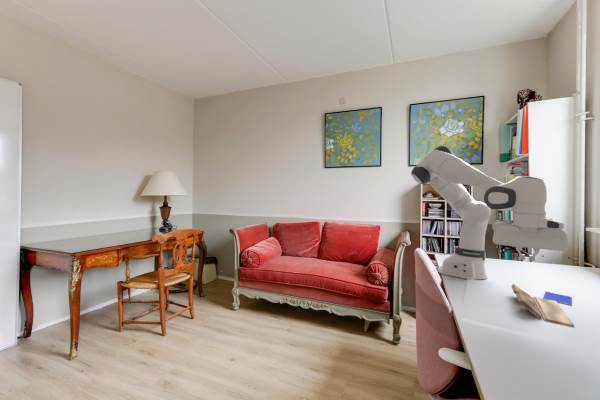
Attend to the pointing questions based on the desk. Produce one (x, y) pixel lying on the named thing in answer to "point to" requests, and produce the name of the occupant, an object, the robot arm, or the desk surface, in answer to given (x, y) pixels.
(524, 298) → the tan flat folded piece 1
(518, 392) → the desk surface
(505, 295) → the desk surface
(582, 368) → the desk surface
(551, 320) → the laid board
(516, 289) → the plank
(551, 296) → the hard drive
